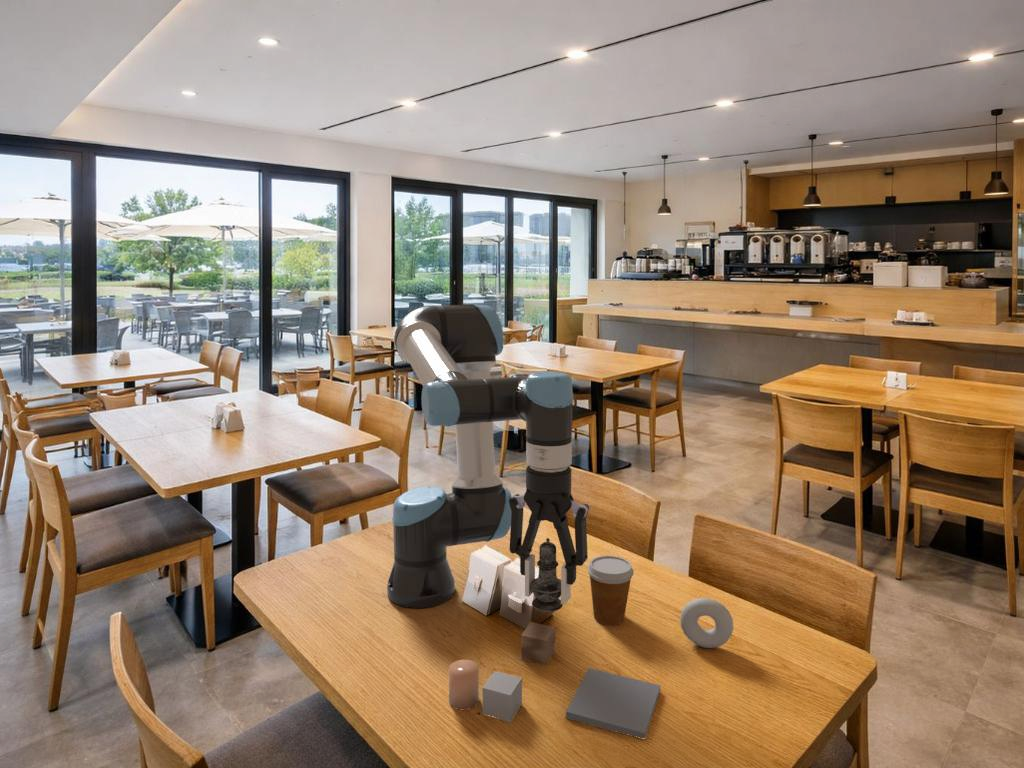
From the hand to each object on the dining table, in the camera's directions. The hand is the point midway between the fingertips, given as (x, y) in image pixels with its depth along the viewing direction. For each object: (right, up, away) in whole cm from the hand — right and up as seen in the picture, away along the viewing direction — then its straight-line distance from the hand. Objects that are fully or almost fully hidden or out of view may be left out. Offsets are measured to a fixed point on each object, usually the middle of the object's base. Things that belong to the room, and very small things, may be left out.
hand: (547, 596), depth 113 cm
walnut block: (-1, -15, +13) cm, 20 cm away
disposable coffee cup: (+14, -13, +27) cm, 33 cm away
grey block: (-8, -18, -2) cm, 20 cm away
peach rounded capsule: (-14, -18, 0) cm, 23 cm away
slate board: (+11, -18, -1) cm, 21 cm away
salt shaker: (0, -2, 0) cm, 2 cm away
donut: (+32, -15, +16) cm, 39 cm away
